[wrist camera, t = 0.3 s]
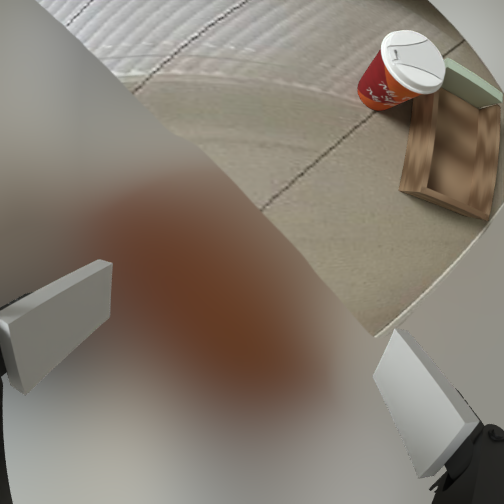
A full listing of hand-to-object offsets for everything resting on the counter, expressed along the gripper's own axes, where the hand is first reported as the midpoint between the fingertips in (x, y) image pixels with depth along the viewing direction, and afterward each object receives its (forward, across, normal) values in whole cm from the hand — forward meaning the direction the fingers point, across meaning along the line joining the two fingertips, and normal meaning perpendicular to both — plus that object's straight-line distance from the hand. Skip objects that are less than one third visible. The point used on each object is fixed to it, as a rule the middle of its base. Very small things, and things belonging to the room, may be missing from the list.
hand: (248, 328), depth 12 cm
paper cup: (+28, +11, +23) cm, 38 cm away
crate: (+27, +24, +19) cm, 41 cm away
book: (+26, +24, +29) cm, 46 cm away
